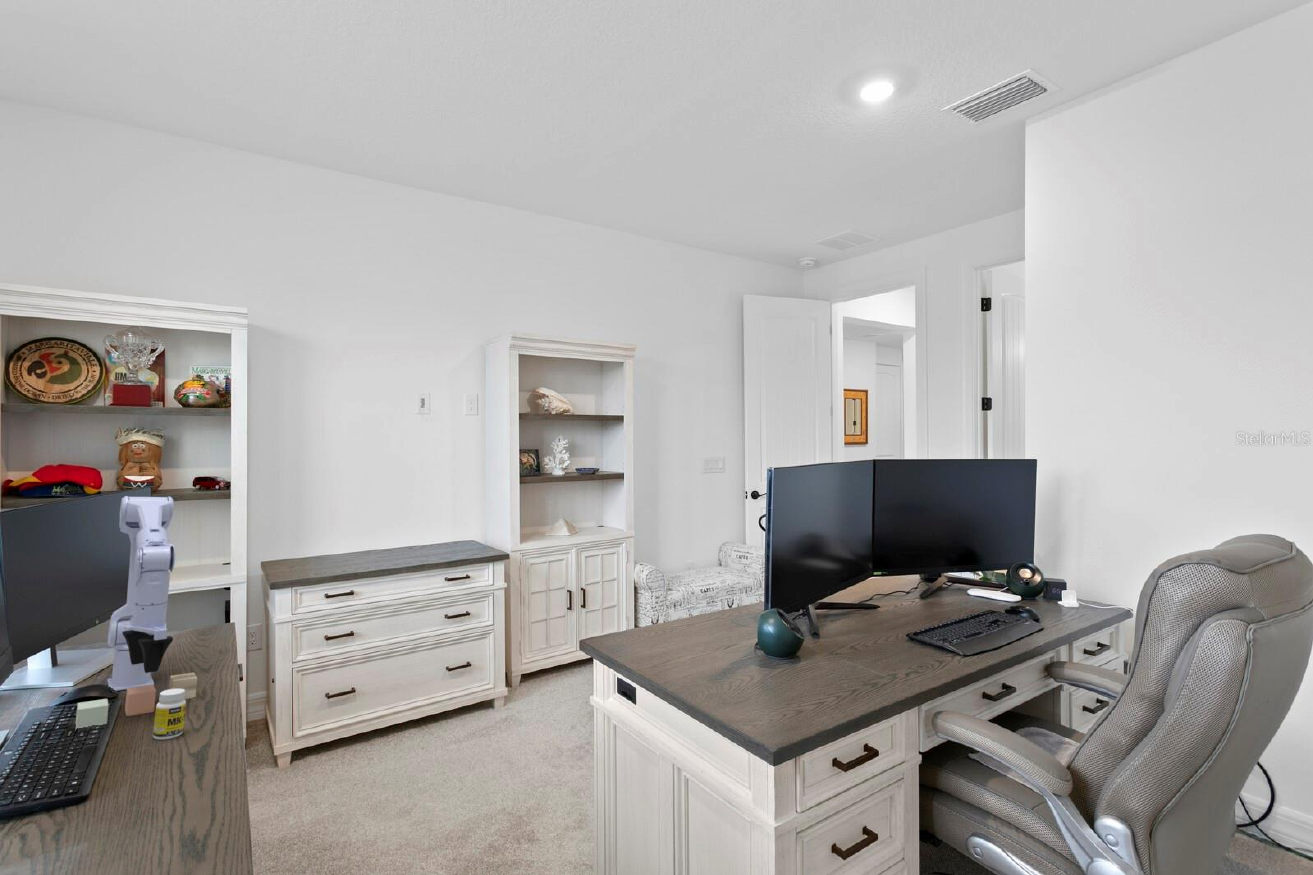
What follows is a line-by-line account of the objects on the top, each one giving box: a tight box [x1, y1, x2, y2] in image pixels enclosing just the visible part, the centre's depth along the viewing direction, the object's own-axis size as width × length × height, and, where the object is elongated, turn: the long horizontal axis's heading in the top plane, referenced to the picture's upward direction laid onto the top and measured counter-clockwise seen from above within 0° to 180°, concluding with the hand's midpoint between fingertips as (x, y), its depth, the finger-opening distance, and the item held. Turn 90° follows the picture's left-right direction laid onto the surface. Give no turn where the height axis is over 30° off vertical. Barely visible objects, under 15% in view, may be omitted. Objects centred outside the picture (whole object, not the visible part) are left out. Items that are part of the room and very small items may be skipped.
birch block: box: [168, 672, 198, 700], centre depth 147 cm, size 4×4×4 cm
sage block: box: [75, 698, 110, 730], centre depth 129 cm, size 4×4×4 cm
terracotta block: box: [124, 684, 157, 717], centre depth 138 cm, size 4×4×4 cm
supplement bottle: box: [152, 688, 187, 741], centre depth 127 cm, size 5×5×8 cm
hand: (144, 667), depth 138 cm, fingers open, 7 cm apart
